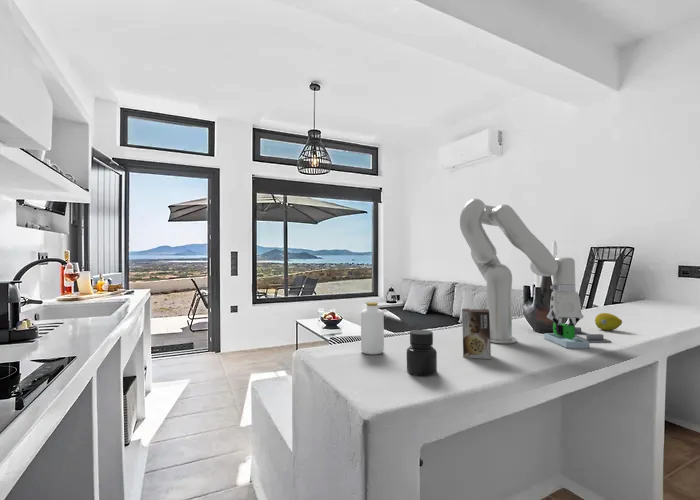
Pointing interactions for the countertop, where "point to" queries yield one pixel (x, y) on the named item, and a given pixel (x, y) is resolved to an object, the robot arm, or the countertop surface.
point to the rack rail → (591, 337)
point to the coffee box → (476, 333)
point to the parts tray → (566, 341)
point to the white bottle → (372, 329)
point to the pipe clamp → (566, 331)
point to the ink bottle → (421, 354)
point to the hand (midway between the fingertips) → (565, 334)
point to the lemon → (607, 321)
